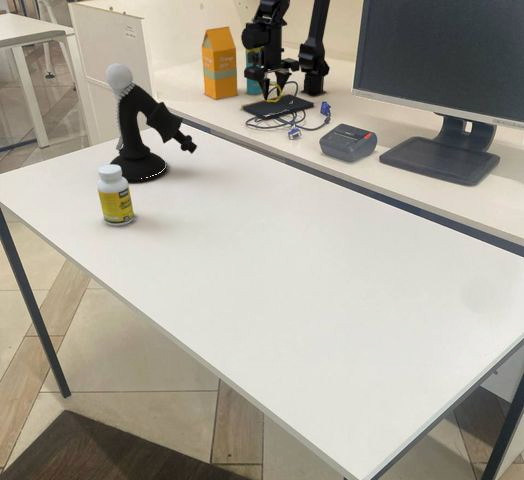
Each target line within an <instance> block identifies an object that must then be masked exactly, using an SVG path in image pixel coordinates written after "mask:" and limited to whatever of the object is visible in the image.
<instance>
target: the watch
mask: <svg viewBox="0 0 524 480" xmlns="http://www.w3.org/2000/svg"><path fill="white" fill-rule="evenodd" d="M276 86H277V87H278V88H279V90H280V95H279V97H278V99H276V100H266V101H267V102H275V103H276V102H277V101H279V99H280V97H281V95H282V93H281V89H280V86H279V85H278V84H277V82H276V81H273V80H270V86H269V87H276Z"/></svg>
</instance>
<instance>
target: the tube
mask: <svg viewBox="0 0 524 480" xmlns="http://www.w3.org/2000/svg"><path fill="white" fill-rule="evenodd" d="M260 48H261V47H259V48H255V49H251V50H247V49H246V48H245V47H244V49H245V68H246V67H250V66H253V64H252V63H250V64H249V63H248V59H247V55H248V52H251V51H255V53H260ZM256 66H257V67H260V68H262V66H259V64H258V65H256ZM246 93H247V94H248V95H252V96H254V95H260V94H262V91H261V88H260V85H259V83H258V81H253V80H250V79H248V78H246Z"/></svg>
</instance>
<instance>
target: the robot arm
mask: <svg viewBox="0 0 524 480" xmlns="http://www.w3.org/2000/svg"><path fill="white" fill-rule="evenodd" d="M330 3H331V0H314V1H313V5H312V10H311V17H310V23H309V29H308V34H307V38H306V40H305V41H304V42H303V43H300V44H299V50H298V55H297V58H298V59H294V58H290V57H286V58H282V56H283V55H282V53H285V47H283V27H285V26H288V21H286V20H285V18H284V17H285V15H286V14H287V12H288V10H289V8H290V6H291V0H259V5H258V7H257V9H256V11H255V14H254V16H253V18H252V21H251V22H246V23H245V27H244V28H243V29H242V32H241V35H240V39H241V40H240V41H241V44H242V46H243V47H244V49H245V48H246V49H247V50H251V49H255V48H259V47H261V48H260V53H255V51H251V52H248V55H247V59H248V63H249V64H250V63H252V64H253V66H250V67H246V66H245V68H244V70H243V78H244V79H247V78H248V79H250V80H253V81H258V83H259V85H260V88H261V94H262V97H263V100H267V99H269V92H270V87H271V86H270V81H271V78H269V77H268V74H273V73H274V75H275V79H276V81H275V82H277V84H278V85H279V86H280V89H281V94H282V93H283V90H284V89H285V85H286V84H287V83H288V80H289V79H290V77H291V76H293V73H296V72H299V71H300V72H301V73H304V79H303V88H302V90H300V92H301V93H303V94H304V95H307V96H311V97H316V96H320V95H324V94H326V93H327V91H326V90H324V86H325V85H324V84H325V77H326V76H328V75H329V73H330V69H331V67H330V66H329V64H328V63H327V61H326V59H325V58H326V49H325V45H324V36H325V30H326V25H327V20H328V14H329V9H330ZM258 64H259V66H261V68H260V67H257V66H256V65H258ZM290 71H291V72H290ZM292 72H293V73H292ZM275 88H276V90H275V91H276V97H277V96H278V97H279V95H280V90H279V88H278V87H277V86H275Z"/></svg>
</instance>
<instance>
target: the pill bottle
mask: <svg viewBox="0 0 524 480" xmlns="http://www.w3.org/2000/svg"><path fill="white" fill-rule="evenodd" d="M109 164H110V163H109ZM109 164H104V165H102V166H100V167H99V168H98V169H97V171H98V177H99V178H100V179H99V180H98V182H97V183H96V188H97V193H98V197H99V201H100V207H101V211H102V215H103V219H104V222H105V223H106V224H108V225H110V226H124V225H127V224H130V223H131V222H132V221H133V220H134V218H135V213H134V207H133V201H132V196H131V190H130V185H129V183H128V181H127V180H126V179H125V178H124V177H122V170H121V167H120V166H118V165H113V164H110V165H109Z"/></svg>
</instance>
